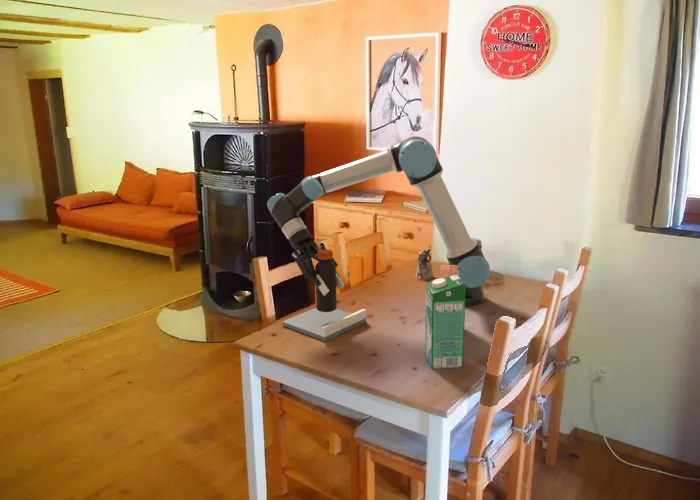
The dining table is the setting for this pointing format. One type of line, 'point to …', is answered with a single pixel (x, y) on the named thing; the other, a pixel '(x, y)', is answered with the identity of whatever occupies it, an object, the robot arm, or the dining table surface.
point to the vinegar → (326, 281)
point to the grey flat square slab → (325, 323)
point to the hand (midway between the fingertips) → (334, 290)
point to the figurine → (424, 266)
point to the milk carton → (445, 322)
